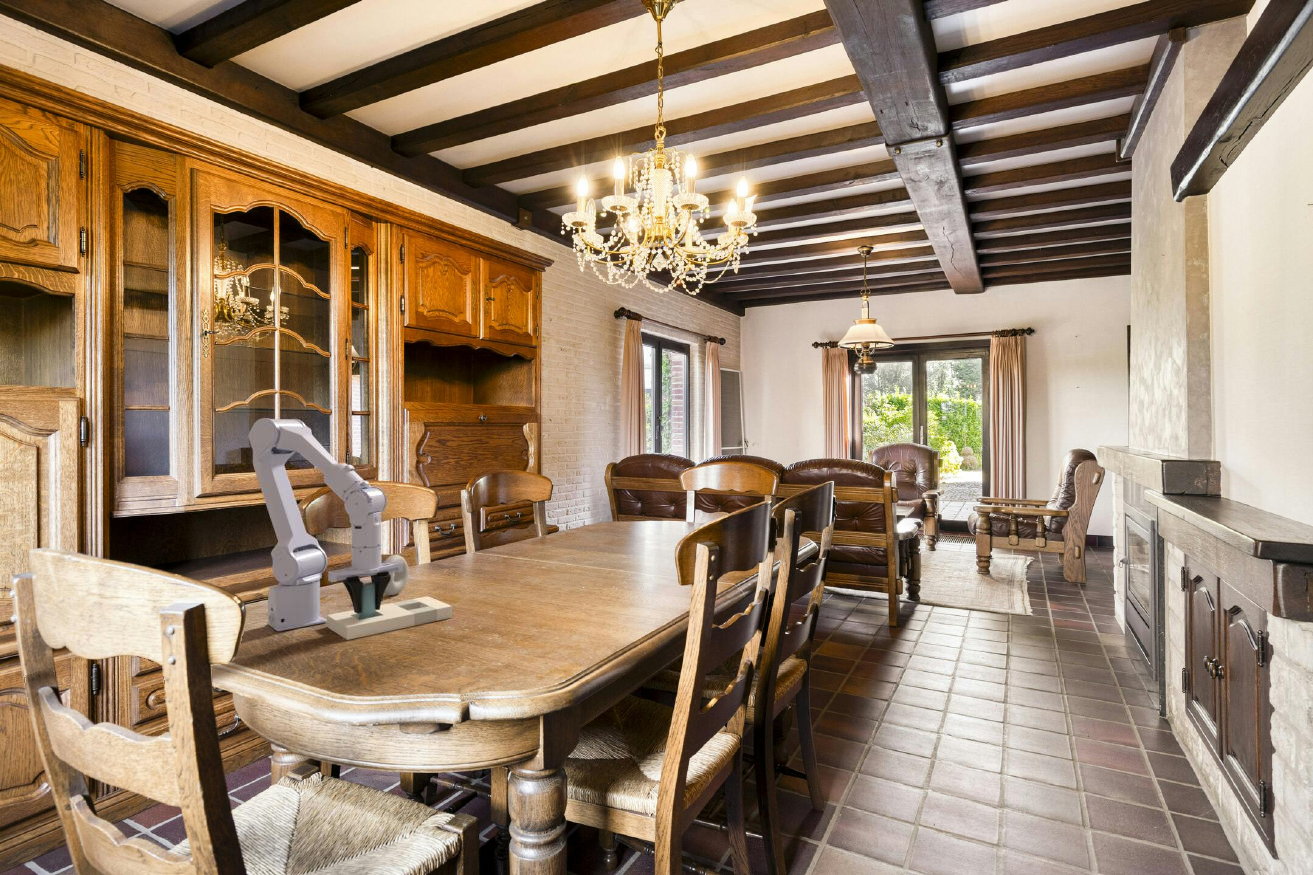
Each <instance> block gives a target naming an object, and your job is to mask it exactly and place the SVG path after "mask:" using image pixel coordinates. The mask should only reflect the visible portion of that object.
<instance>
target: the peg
mask: <svg viewBox="0 0 1313 875" xmlns="http://www.w3.org/2000/svg"><path fill="white" fill-rule="evenodd" d="M361 607H362V609H361V613H359V620H362V619H367V618H372V617H375V583H373V582H372V581H370V582H369V581H368V582H363V585H362V593H361Z"/></svg>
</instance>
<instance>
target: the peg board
mask: <svg viewBox="0 0 1313 875" xmlns="http://www.w3.org/2000/svg"><path fill="white" fill-rule="evenodd" d="M451 618H453V606H452V605H451V604H448V603H446V602H443V601H441V600H438V599H435V598H433V597H430V596H421V597H418V598H411V599H405V600H402V601H395V602H391V603H385V604H381V605H380V610H375V617H372V618H367V619H362V620H359V614H357V613H355V612H354V609H352V610H351V609H350V610H347V611H346V610H345V611H342V612H335V613H331V614H326V620H327V622H326V628H328V629H330V630H331V631H333V632H334V633H336V634H337V635H339V636H340V637H342V638H344V639H345V640H347V641H349V640H353V639H357V638H363V637H368V636H372V635H377V634H382V633H386V632H391V631H395V630H401V629H405V628H410V627H414V626H418V625H419V626H420V625H424V624H427V623H433V622H437V621H442V620H446V619H451Z"/></svg>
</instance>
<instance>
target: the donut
mask: <svg viewBox="0 0 1313 875" xmlns="http://www.w3.org/2000/svg"><path fill="white" fill-rule="evenodd" d="M398 561H399V562H402V563H403V571H402V572H391V573H389V575H391V580H390V582H389V583H388V585H387V587H386V589H385V592H384V594H385V595H387V596H396V595H398V594H399V593H401V592H402V591H403V589H404V588H405V586H406V584H407V582H408V577H409V565H408V563H407V560H406V559H405V557H403V556H401V555H399V554H393V555H392V554H391V555H390V556H389V557H387V558H386V559H385V560H384V561H383V562H382V563H389V562H398Z"/></svg>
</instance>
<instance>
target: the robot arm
mask: <svg viewBox="0 0 1313 875" xmlns="http://www.w3.org/2000/svg"><path fill="white" fill-rule="evenodd" d="M247 438H248V439H249V443H250V446H251V449H252V465H253V468H254V472H255V475H256V479H257V481H258V484H259V487H260V489H261V490H260V491H261V493H262V495H263V499H264V502H265V505H266V509H267V512H268V514H269V517H270V520H271V523H272V526H273V530H274V532H275V536H276V538H277V544H276V545H275V546H274V547H273V549H272V550H271V552H270V554H271V555H270V556H271V559H272V567H271V568H272V573H273V576H274V578H275V580H276V581H278V584H275V585H271V586H269V589H268V592H267V595H268V596H267V600H268V601H267V605H268V606H267V610H268V611H267V614H268V620H267V625H269V626H270V627H271V628H272V629H274V630H276V632H282V631H287V630H288V631H289V630H292V629H298V628H303V627H308V626H314V625H318V624H324V623H327V618H324V617H323V616H321V597H320V596H321V592H320V591H321V589H320V587H321V586H320V584H321V583H320V581H321V580H320V579H322V575H323V573H324V572H325V570H326V569H327V566H328V564H329V563H328V562H329V561H328V556H327V554H326V552H325V550H324V549H323V548H322V547H321V546H320V544H319V542H318V539H317V538H315V537H314V536H313V535H311V534H309V533H308V532H307V530H306V526H305V523H304V522H303V518H302V515H301V513H300V510H299V506H298V503H297V500H296V498H295V494H294V490H293V488H292V485H291V482H290V479H289V477H288V473H287V472H288V471H287V470H286V467H285V464H286V463H287V462H288V459H290V458H291V457H292V456H294V454H295V453H298V454H300V455H301V456H302V457H303V458H304V459H306V460H307V461H308V462H309V463H310V464H311V465H312V466H314V467H315V468H317V469H318V470H319V471H320V472H322V474H324V475H323V483H324V484H326V486H328V488H330V489H331V491H333V493H334V494H336V495H337V496H338V497H339V498H340V499H341V500H342V501H343V502H344V504H343V505H344V509H345V512H346V513H347V515H348V517H349V523H350V525H351V527H350V528H351V534H350V535H351V566H349V567H344V568H340V569H335V570H329V571H328V572H327V578H328V579H327V580H328V582H330V583H336V582H338V581H342V583H343V585H344V588H345V589H346V590H347V593H348V595H349V596H350V601H351V603H352V604H351V605H352V607H353V610H354V612H355V613H357V614H359V613H361V609H362V607H361V593H362V585H363V583H364V582H363V581H362V580H361V579H360V578H363V577H369V576H370V580H371V581H370V582H373V583H375V610H380V605H382V600H383V598H384V594H385V593H384V592H385V589H386V587H387V585H388V583H389V582H390V580H391V575H389V573H391V572H402V571H403V563H402V562H399V561H398V562H389V563H383V562H382V512H383V511H385V508H386V507H387V503H388V499H387V495H386V493H385V492H384V491H383V489H382V488H381V487H379V486H372V485H370V482H369V481H368V480H364V478H362V477H361V476H360V475H359V474H358V473H357V472H356V471H355V467H354V466H353V465H352V464H347V463H346V462H345V463H344V462H341V463H339V462H337V461H336V459H335V458H334V457H333V456H332V455H331V454H330V453H329V452H328V451H327V450H326V449H325V447H323V445H322V444H321V443H320V442H319V441H318V439H316V437H315V436H314V435H313V434H312V429H311V428H310V427H308V426H307V425H306V423H305V422H303V421H302V420H300V419H297V418H291V419H290V418H289V419H287V418H286V419H285V418H282V419H279V418H268V417H263V418H259V419H257V420H256V421H255V422H254V423H253V425H252V427H251V429H250V430H249V432H248V434H247Z"/></svg>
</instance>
